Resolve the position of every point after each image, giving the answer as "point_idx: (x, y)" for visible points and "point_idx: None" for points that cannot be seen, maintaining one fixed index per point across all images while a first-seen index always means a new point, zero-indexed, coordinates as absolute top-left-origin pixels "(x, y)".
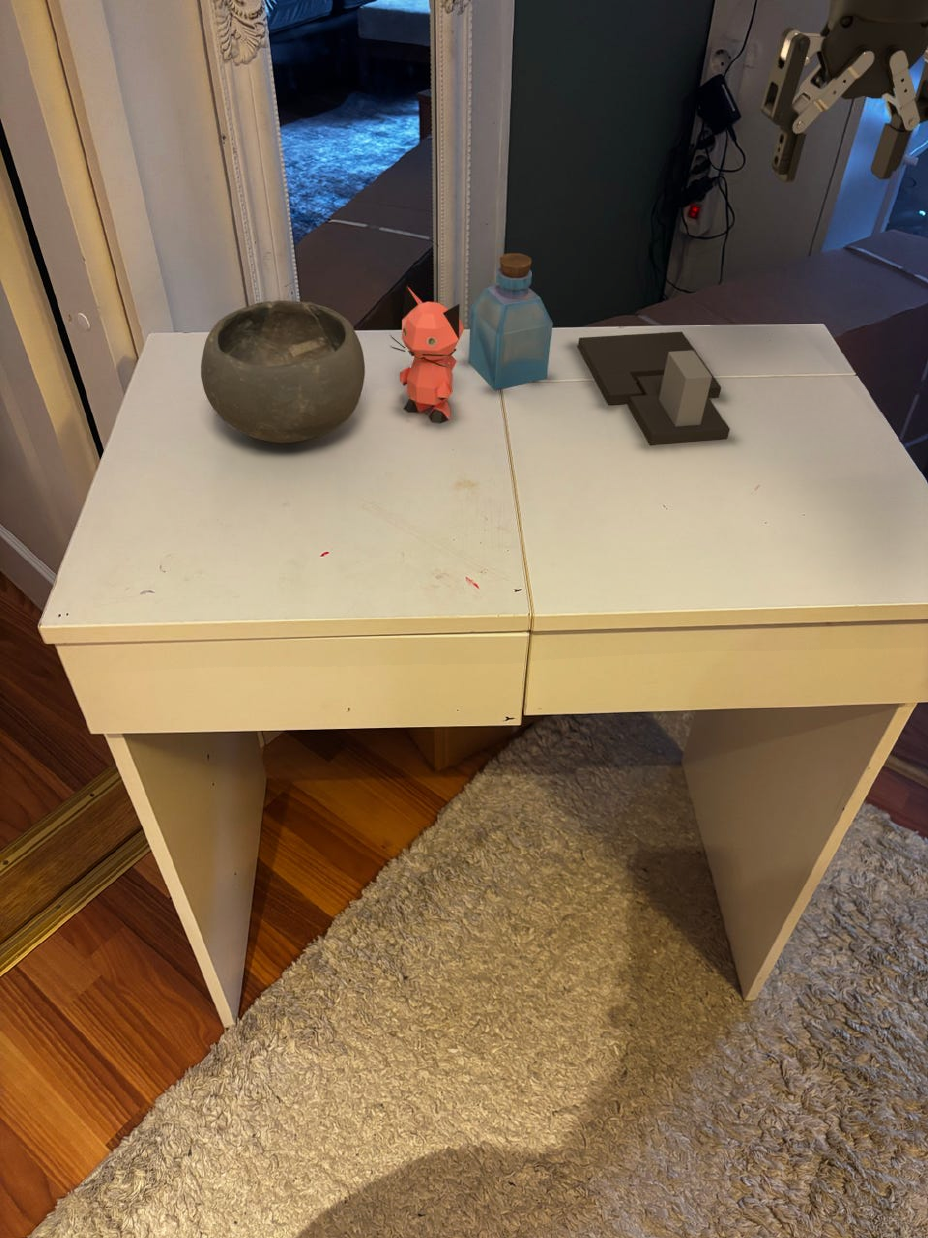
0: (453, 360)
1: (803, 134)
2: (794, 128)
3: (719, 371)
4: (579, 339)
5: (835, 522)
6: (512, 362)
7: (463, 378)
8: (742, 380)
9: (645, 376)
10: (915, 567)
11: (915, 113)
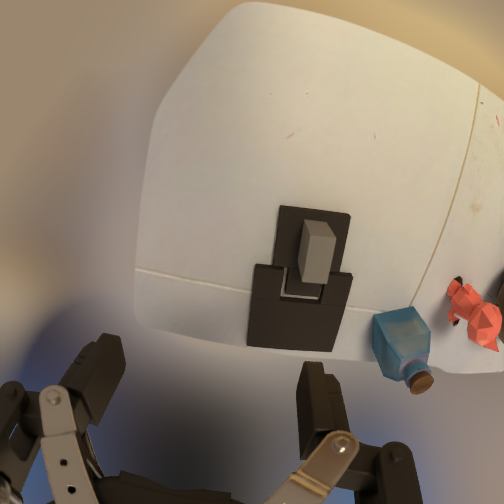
0: (451, 318)
1: (321, 429)
2: (353, 438)
3: (235, 297)
4: (331, 350)
5: (249, 80)
6: (409, 319)
7: None
8: (222, 281)
9: (311, 295)
10: (218, 26)
11: (45, 409)
